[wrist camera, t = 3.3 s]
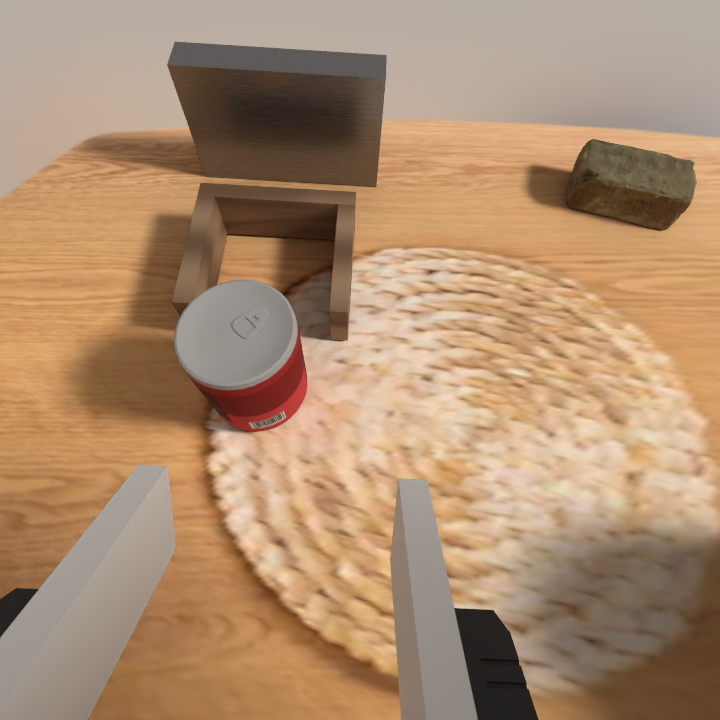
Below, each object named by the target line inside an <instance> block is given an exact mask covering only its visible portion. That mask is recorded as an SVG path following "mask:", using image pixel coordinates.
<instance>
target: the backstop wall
mask: <svg viewBox="0 0 720 720" xmlns="http://www.w3.org/2000/svg"><path fill="white" fill-rule="evenodd" d="M167 65H168V68H169V71H170V74H171V77H172V80H173V82H174V86H175V88H176V91H177V94H178V97H179V100H180V102H181V106H182V109H183V111H184V114H185V117H186V120H187V123H188V126H189V129H190V132H191V135H192V137H193V140H194V143H195V146H196V149H197V152H198V155H199V158H200V160H201V163H202V166H203V169H204V172H205V175H206V177H220V178H237V179H254V180H270V181H287V182H303V183H320V184H337V185H353V186H370V187H376V182H377V171H378V160H379V148H380V137H381V126H382V113H383V103H384V92H385V80H386V55H374V54H358V53H343V52H327V51H312V50H295V49H279V48H264V47H248V46H233V45H217V44H201V43H186V42H175V43H174V46H173V49H172V52H171V55H170V58H169V61H168V64H167Z"/></svg>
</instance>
